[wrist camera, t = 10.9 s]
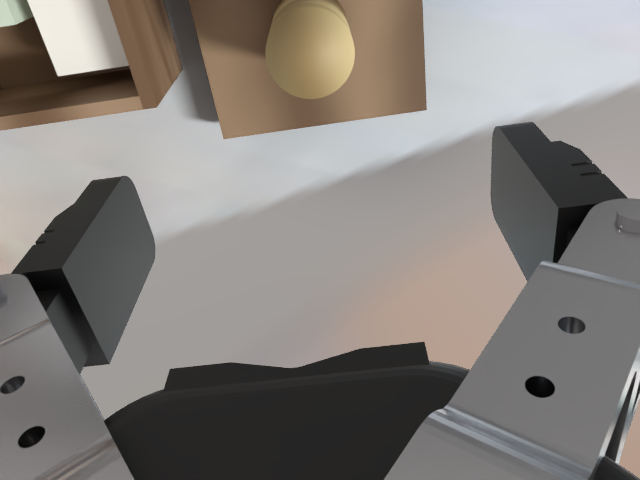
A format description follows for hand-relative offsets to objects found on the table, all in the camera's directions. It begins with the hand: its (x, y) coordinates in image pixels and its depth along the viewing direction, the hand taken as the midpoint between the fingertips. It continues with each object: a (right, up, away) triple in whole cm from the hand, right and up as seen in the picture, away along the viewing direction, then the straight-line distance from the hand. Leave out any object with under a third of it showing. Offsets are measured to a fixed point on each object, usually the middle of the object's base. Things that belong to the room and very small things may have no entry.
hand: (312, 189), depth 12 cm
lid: (0, +10, +16) cm, 19 cm away
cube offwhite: (-10, +10, +15) cm, 21 cm away
